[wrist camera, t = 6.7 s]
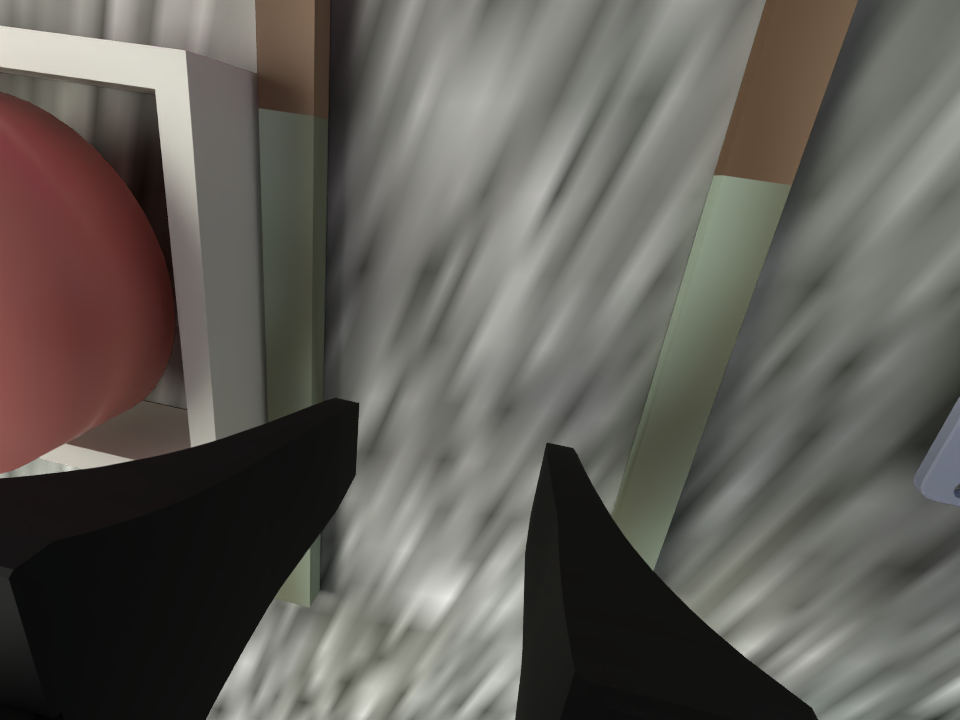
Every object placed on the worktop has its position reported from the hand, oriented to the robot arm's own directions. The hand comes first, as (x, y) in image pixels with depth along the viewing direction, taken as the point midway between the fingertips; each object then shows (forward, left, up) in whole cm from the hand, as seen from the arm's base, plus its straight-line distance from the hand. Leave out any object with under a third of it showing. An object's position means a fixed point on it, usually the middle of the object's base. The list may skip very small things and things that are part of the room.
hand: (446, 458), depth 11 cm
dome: (+13, -2, -4) cm, 13 cm away
